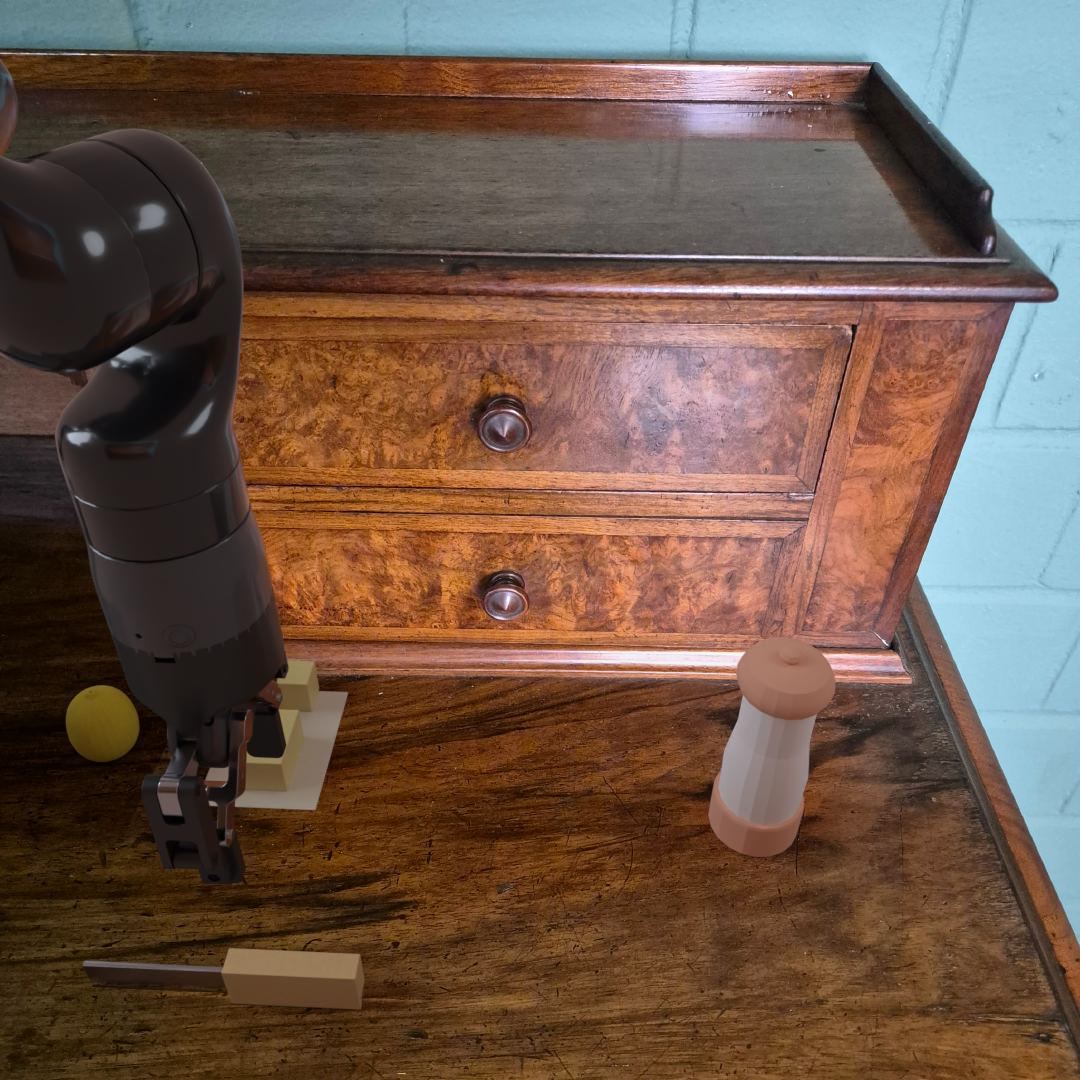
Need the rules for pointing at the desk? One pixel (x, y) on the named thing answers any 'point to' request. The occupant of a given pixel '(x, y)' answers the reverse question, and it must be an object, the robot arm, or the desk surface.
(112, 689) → the lemon
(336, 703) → the butter dish
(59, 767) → the desk surface
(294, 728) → the butter block
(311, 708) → the butter slice
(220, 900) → the desk surface
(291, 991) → the knife
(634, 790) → the desk surface
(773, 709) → the pepper shaker
